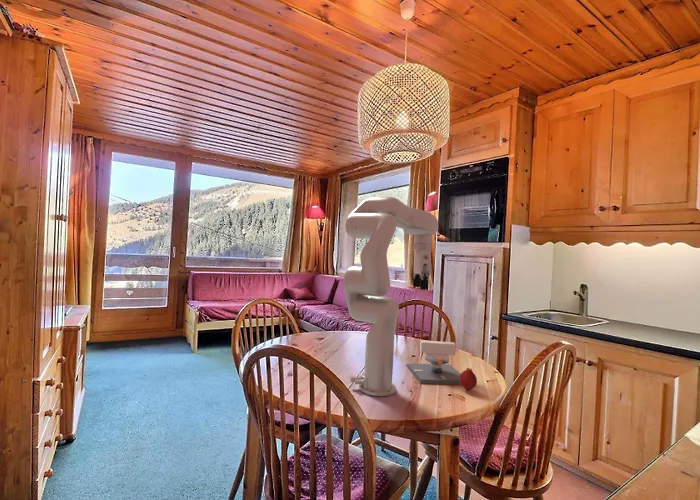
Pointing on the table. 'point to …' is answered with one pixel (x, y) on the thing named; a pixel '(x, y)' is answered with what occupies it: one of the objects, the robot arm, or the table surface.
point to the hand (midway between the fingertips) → (420, 288)
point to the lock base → (435, 373)
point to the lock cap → (437, 351)
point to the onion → (468, 379)
